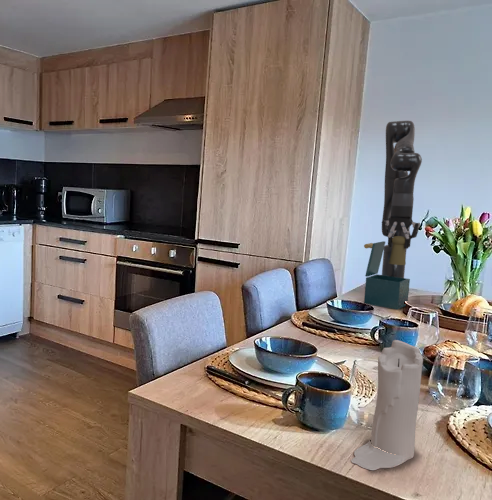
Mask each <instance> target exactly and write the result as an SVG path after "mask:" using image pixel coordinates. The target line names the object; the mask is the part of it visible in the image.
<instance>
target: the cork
mask: <svg viewBox="0 0 492 500" xmlns="http://www.w3.org/2000/svg"><path fill="white" fill-rule="evenodd" d="M405 239H406V238H405V237H403V236H394V237H393V238H392V243H393V247H392V251H391V256H390V260H389V263H390V264H395V265H405V266H406V264H407V263H406V261H405Z"/></svg>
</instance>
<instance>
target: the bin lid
mask: <svg viewBox="0 0 492 500" xmlns="http://www.w3.org/2000/svg"><path fill="white" fill-rule="evenodd" d="M385 245H386V241H384V240H383V241H379V242H374V243H373V242H368V243H364V245H363V247H364V249H370V254H369V258H368V263H367V267H366V271H365V275H364V276H365V278H366V277H370V276H373V275H376V274H378V275H379V269H380V266H381V262H382V259H383V253H384V246H385Z"/></svg>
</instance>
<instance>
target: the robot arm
mask: <svg viewBox="0 0 492 500" xmlns="http://www.w3.org/2000/svg"><path fill="white" fill-rule="evenodd" d="M415 132H416V128H415V124H414V122H413V121H412V120H395V121H393V120H392V121H389V122H387V124H386V126H385V170H384V193H383V194H384V195H383V196H384V199H383V211H382V219H381V233H382V235H383V236H384V237H387V244H385V246H384V250H383V254H382V267H381V275H385V276H392V277H399V278H405V271H406V265H395V264H390V263H389V260H390V256H391V251H392V247H393V243H392V238H393V237H394V236H403V237H405V238H406V239H405V261H406V259H407V258H406V257H407V250H408V249H409V248H410V247H411V242H412V241H411V240H412V239H414V238H417V237H418V234H419V230H420V228H421V222H415V221H413V209H414V201H415V200H414V197H415V196H414V190H415V182H416V179H417V176H418V172H419V171H420V168H421V166H422V163H423V159H422V155H421V154H420V153H419V152H415V146H414V145H415V144H414V143H415V134H416V133H415ZM394 144H395V145H394ZM411 226H412V228H413V229H412V232H411V230H410V229H411Z"/></svg>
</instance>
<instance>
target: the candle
mask: <svg viewBox="0 0 492 500" xmlns="http://www.w3.org/2000/svg"><path fill="white" fill-rule="evenodd" d="M423 364H424V357H423V355H422V354H421V350H420V348H419V347H418V346H415V345H411V344H409V343H407V342H404V341H402V340H398V339H394V340H392V342H391V346H389V347H383V349H382V350H381V353H380V354H379V356H378V357H377V392H376V393H377V394H376V402H375V408H374V413H373V418H372V424H371V433H370V438H369V441H368V442H366V443H365V444H363V445H361V446H359V447H357V449H355V450H354V452H353V455H354V457H353V458H351V459H350V461H351V464H355V465H357V466H359V467H361V468H363V469H366V470H369V471H376V470H379V469H392V468H395V467H398V466H401V465H402V464H404V463H405V462H407V461H409V460H411V459H413V457H414V456H415V448H416V431H417V429H416V428H417V418H418V410H419V402H420V393H421V386H422V385H421V384H422V372H423ZM370 440H371V442H372V444H371V442H370ZM372 445H373V446H375V447H378V448H380V449H381V450H380V449H378V448H374V447H373V446H372ZM382 450H384V451H386V452H384V451H382ZM387 452H388V453H387ZM390 453H392V454H390ZM394 454H396V455H394Z"/></svg>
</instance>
